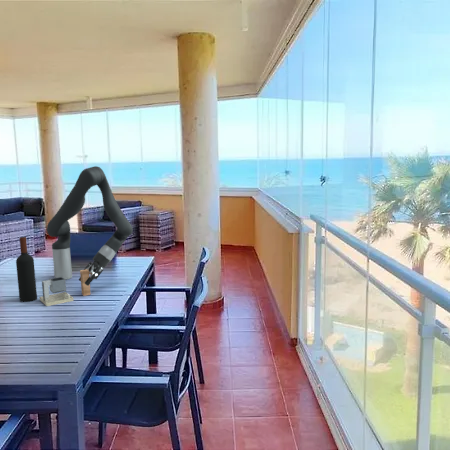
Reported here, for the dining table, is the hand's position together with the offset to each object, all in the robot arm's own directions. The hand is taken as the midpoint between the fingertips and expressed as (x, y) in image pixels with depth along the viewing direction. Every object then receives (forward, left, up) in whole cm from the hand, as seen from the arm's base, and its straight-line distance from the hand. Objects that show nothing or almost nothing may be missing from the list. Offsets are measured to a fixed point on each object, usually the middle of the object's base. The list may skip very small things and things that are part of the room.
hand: (83, 282), depth 208 cm
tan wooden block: (0, +1, -6) cm, 6 cm away
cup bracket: (0, -12, -6) cm, 13 cm away
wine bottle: (-10, -23, -6) cm, 26 cm away
